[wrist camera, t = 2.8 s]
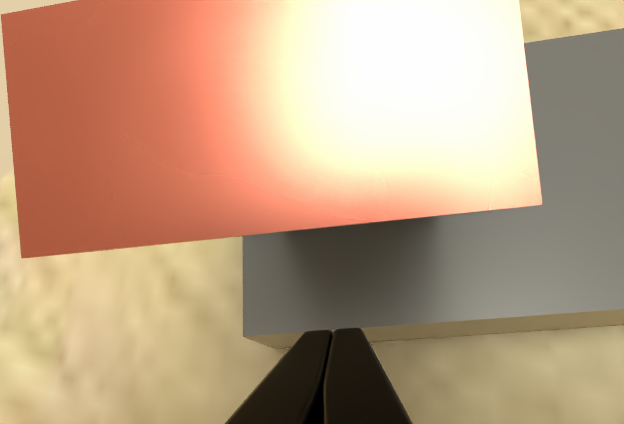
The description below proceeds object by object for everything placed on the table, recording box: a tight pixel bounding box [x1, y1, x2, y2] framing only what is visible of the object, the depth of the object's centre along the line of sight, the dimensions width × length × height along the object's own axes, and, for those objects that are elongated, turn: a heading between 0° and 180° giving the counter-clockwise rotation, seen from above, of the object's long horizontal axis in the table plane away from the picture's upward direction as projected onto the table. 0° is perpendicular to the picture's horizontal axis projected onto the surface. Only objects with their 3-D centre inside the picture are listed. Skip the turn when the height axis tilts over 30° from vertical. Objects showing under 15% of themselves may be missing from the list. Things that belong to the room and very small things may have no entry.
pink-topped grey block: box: [1, 0, 542, 258], centre depth 9 cm, size 2×4×9 cm, turn 93°
